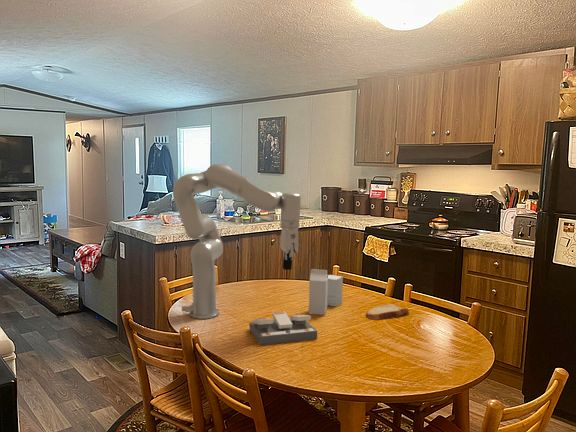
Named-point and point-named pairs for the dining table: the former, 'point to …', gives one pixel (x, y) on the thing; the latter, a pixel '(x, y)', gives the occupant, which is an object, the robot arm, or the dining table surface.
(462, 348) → the dining table surface
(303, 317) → the switch right
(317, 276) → the milk carton
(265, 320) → the switch left
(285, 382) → the dining table surface
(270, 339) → the switch unit
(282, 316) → the switch middle
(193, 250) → the robot arm
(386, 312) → the slice of bread
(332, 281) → the supplement box
